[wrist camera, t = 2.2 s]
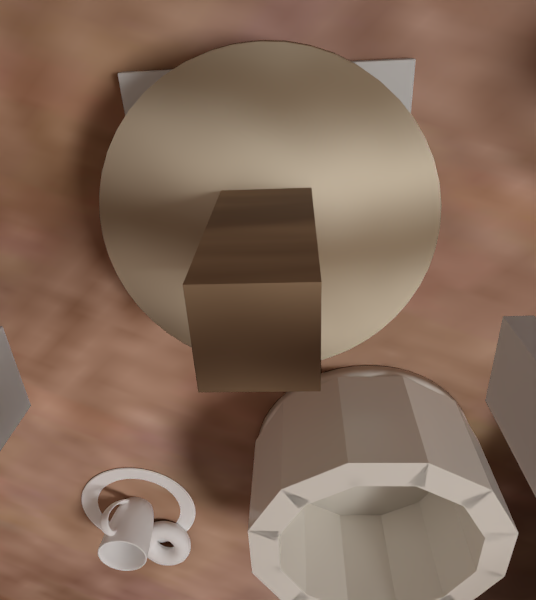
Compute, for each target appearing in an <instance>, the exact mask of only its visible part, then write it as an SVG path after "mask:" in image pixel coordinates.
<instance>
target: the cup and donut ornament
mask: <svg viewBox="0 0 536 600" xmlns="http://www.w3.org/2000/svg"><path fill="white" fill-rule="evenodd" d="M122 479H142V480H147V481H150V482H153V483H156V484H158V485H160V486H162V487H164V488H166V489H167V490H168V491H170V492H171V493H172V494H173V495H174V496H175V498H176V499H177V501H178V503H179V505H180V510H181V512H180V517H179V519H178V521H177V522H176V523H173V522H170V521H157V522H154V512H153V508H152V505H151V504H150V503H149V502H148V501H147V500H145V499H143V498H139V497H130V498H127V499H122V500H119V501H116V502H114V503H113V504H111V505H110V506H108V507H107V508H106V510H105V511H104V512H103V514H102V513H101V511H100V509H99V506H98V496H99V494H100V492H101V490H102V489H103V488H104V487H105V486H107V485H108V484H110V483H112V482H114V481H117V480H122ZM119 504H120V506H119V507H118V508H117V510H116V511H115V513H114V515H113V517H112V519H111V521H109V520H108V517H109V514H110V512H111V510H112V509H113V508H114V507H115V506H116V505H119ZM82 506H83V509H84V512H85V513H86V515H87V517H88V518H89V519H90V520H91V522H92V523H93V524H95V525H96V526H97V527H98V528H99V529H101V530H102V531H103V532H104V533H105V534H104V537H103V539H102V541H101V544H100V546H99V549H98V556H99V558H100V560H101V561H102V562H103V563H104V564H106V565H107V566H109V567H111V568H114V569H117V570H123V571H131V570H136V569H139V568H141V567H142V566H143V565H144V564H145V563H146V560H147V557H148V558H149V559H150V560H152V561H153V562H155V563H157V564H161V565H176V564H179V563H181V562H183V561H184V560H185V559H186V558H187V557H188V555H189V553H190V550H191V542H190V538H189V535H188V534H187V531H188V530H189V529H190V527H191V526H192V524H193V522H194V519H195V505H194V502H193V500H192V498H191V497H190V495H189V494H188V492H187V491H186V490H185V489H184V488H183V487H182V486H181V485H179V484H178V483H177V482H175V481H174V480H172V479H170V478H168V477H166V476H164V475H162V474H160V473H157V472H154V471H150V470H146V469H140V468H117V469H112V470H108V471H105V472H102V473H100V474H98V475H96V476H95V477H93V478H92V479H91V480H90V481H89V482H88V483H87V484H86V486H85V487H84V490H83V492H82ZM168 541H169V542H171V543H172V544H173V547H166V546H163V545H161V544H160V543H163V542H168Z"/></svg>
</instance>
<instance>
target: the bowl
mask: <svg viewBox="0 0 536 600" xmlns="http://www.w3.org/2000/svg"><path fill="white" fill-rule="evenodd" d="M518 534H519V533H518V530H517V528H516V526H515V524H514V521H513V519H512V517H511V514H510V512H509V510H508V507H507V505H506V503H505V501H504V498H503V496H502V494H501V491H500V489H499V487H498V484H497V482H496V480H495V478H494V475H493V473H492V471H491V468H490V466H489V464H488V461H487V459H486V457H485V455H484V452H483V450H482V448H481V445H480V443H479V441H478V439H477V437H476V436H475V434H474V432H473V431H472V429H471V427H470V425H469V424H468V421H467V419H466V417H465V415H464V413H463V411H462V409H461V407H460V406H459V404H458V403H457V402H456V400H455V399H454V398H453V397H452V396H451V395H450V394H449V393H448V392H447V391H446V390H445V389H443V388H442V387H440V386H439V385H438V384H436V383H435V382H433V381H431V380H429V379H427V378H425V377H423V376H421V375H418V374H416V373H413V372H410V371H406V370H402V369H399V368H393V367H386V366H370V365H366V366H351V367H345V368H339V369H335V370H331V371H328V372H324V373H321V391H307V392H286V393H285V394H284V395H283V396H282V397H281V398H280V399H279V400H278V401H277V402H276V403H275V404H274V405H273V407H272V408H271V409H270V410H269V412H268V414H267V415H266V417H265V419H264V421H263V424H262V426H261V429H260V434H259V437H258V438H257V440H256V442H255V454H254V465H253V477H252V488H251V500H250V512H249V523H248V537H249V546H250V556H251V565H252V573H253V574H254V575H255V576H256V577H257V578H258V579H259V580H260V581H261V582H262V583H263V584H265V585H266V586H267V587H268V588H269V589H270V590H271V591H272V592H273V593H274V594H275V595H276V596H277V597H278V598H279V599H280V600H474V599H475V598H477V597H478V596H479V595H481V594H482V593H483V592H485V591H486V590H487V589H489V588H490V587H491V586H493V585H494V584H495V583H497V582H498V581H499V580H501V579H502V578H503V577H505V574H506V571H507V568H508V565H509V562H510V559H511V556H512V552H513V549H514V546H515V543H516V540H517V537H518Z"/></svg>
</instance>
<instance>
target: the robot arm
mask: <svg viewBox="0 0 536 600" xmlns="http://www.w3.org/2000/svg"><path fill="white" fill-rule="evenodd" d="M485 401H486V403H487V405H488V407H489V409H490V410H491V412H492V414H493V416H494V418H495V420H496V422H497V424H498V426H499V428H500V430H501V432H502V434H503V435H504V437H505V439H506V441H507V443H508V445H509V447H510V449H511V451H512V453H513V455H514V457H515V459H516V461H517V462H518V464H519V466H520V468H521V470H522V472H523V474H524V476H525V478H526V480H527V482H528V484H529V486H530V488H531V489H532V491H533V493H534V495H535V497H536V317H535V316H503V320H502V325H501V329H500V334H499V339H498V343H497V348H496V353H495V358H494V362H493V367H492V372H491V376H490V381H489V386H488V391H487V395H486V400H485ZM30 406H31V405H30V402H29V399H28V396H27V393H26V391H25V388H24V385H23V382H22V379H21V377H20V374H19V371H18V368H17V365H16V363H15V360H14V357H13V354H12V351H11V349H10V346H9V343H8V340H7V337H6V335H5V332H4V329H3V326H0V451H1V449H2V448H3V446H4V445H5V443H6V442H7V440H8V439H9V437H10V436H11V434H12V433H13V431H14V430H15V428H16V427H17V425H18V424H19V422H20V421H21V420H22V418H23V417H24V415H25V414H26V412H27V411H28V409H29V408H30Z"/></svg>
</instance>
